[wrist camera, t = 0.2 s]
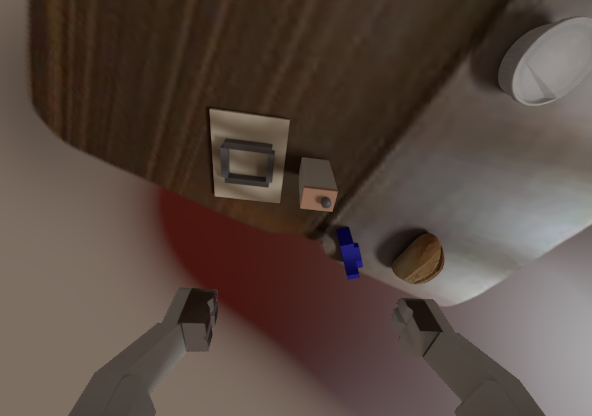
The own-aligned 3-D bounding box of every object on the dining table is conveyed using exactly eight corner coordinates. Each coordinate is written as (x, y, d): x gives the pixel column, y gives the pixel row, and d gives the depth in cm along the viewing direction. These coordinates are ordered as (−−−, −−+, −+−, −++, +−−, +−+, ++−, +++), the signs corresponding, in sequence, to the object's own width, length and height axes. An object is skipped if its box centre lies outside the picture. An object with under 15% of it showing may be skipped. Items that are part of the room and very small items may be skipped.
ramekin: (477, 98, 43) (498, 105, 38) (512, 17, 36) (541, 14, 32) (540, 100, 43) (567, 107, 39) (585, 20, 36) (624, 18, 32)
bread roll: (446, 234, 61) (465, 258, 54) (411, 272, 69) (423, 297, 62) (414, 224, 59) (429, 248, 52) (381, 265, 67) (391, 289, 61)
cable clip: (360, 258, 66) (365, 276, 61) (343, 261, 66) (347, 279, 61) (354, 225, 59) (360, 242, 54) (336, 228, 60) (340, 246, 55)
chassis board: (210, 107, 43) (206, 112, 41) (289, 118, 44) (289, 123, 42) (215, 194, 53) (212, 201, 51) (279, 201, 54) (279, 208, 52)
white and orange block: (301, 157, 48) (304, 191, 38) (328, 160, 49) (338, 195, 38) (298, 174, 51) (300, 211, 40) (324, 178, 51) (333, 215, 41)
